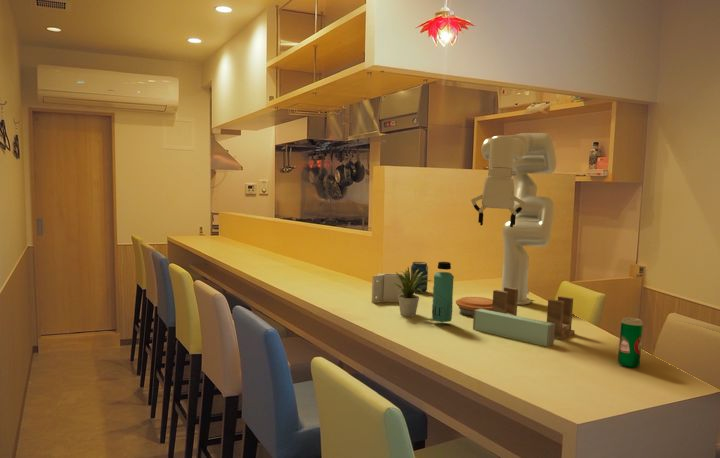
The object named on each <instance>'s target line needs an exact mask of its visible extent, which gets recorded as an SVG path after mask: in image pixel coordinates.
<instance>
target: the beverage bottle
mask: <svg viewBox="0 0 720 458" xmlns="http://www.w3.org/2000/svg"><path fill="white" fill-rule="evenodd" d="M451 265H452V263H451V262H450V261H438V263H437V269H439V270H451V269H452V266H451ZM432 289H433V290H432V305H431V318H432V320H433V321H435V322H441V323H449V322H452V318H453V307H454V306H453V305H454V304H453V295H454V275H453V274H452V272H448V271H437V272H436V273H435V274H434V275H433V286H432Z"/></svg>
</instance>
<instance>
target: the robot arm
mask: <svg viewBox="0 0 720 458" xmlns="http://www.w3.org/2000/svg"><path fill="white" fill-rule="evenodd" d="M554 145H555V144H554V141H553V138H552V137H551V134H549V133H547V132H522V133H517V134H511V135H495V136H492V137H489V138H486V139H485V140H484V141H483V142H482V145H481V149H480V151H481V156H482V157H483V158H484V159H485V160H486V161H488V173H487V177H485V179H484V183H483V190H482V194H481V195H478V196H476V197H474V198H471V203H472V205H473V209H475V210H476V212H478V220H477V221H478V224H480V226H483V224H484V211H485V209H487V208H488V209H505V210H509V211H510V218H509V220H508V221H506V222H504V224H503V225H502V240H503V241H502V242H503V256H502V257H503V259H502V262H503V263H502V276H501V290H500V291H504V288H505V287H510V288H516V289H518V301H517V306H518V305H519V306H520V305H521V306H522V305H523V306H524V305H529V304H531V299H530V298H529V297H527V296H528V294H530V290H529V289H528V280H529V269H530V268H529V267H530V265H529V264H530V257H529V256H530V255H529V254H528V252H527V250H526V249H525V247H527V246H528V247H539V248H540V247H541V248H543V247H546V246H548V244H549V243H550V239H551V235H552V229H553V227H552V226H553V222H554V221H553V220H554V215H555V203H554V201H553V199H552V198H550V197H548V196H541V195H540V196H537V193H538V186H537V184H536V182H535V181H534V179H533V178H532V177H531V176H530V175H529V174H534V175H535V174H536V175H537V174H540V175H549V174H552V173H554V172H555V170H556V167H557V156H556V151H555V146H554ZM480 200H481V205H482V206H481V207H479V206H478V204H477V202H478V201H480ZM524 246H525V247H524Z"/></svg>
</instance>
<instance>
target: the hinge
mask: <svg viewBox="0 0 720 458" xmlns="http://www.w3.org/2000/svg"><path fill="white" fill-rule="evenodd" d="M400 274H401V275H402V276H403V277H404V278H405V275H404V273H400ZM398 278H399V277H398V275H397V274H396V273H377V275H376V274H375V275H372V278H371V279H372V283H371V284H372V285H371V303H372V304H375V303H382V302H385V303H386V302H390V303H392V302H394V303H399V298H398V296H399V295H401V294H404V293H403V292H402V290H401V289H400V290H401V291H399V287H398V286H396V285H394V284H392V283H397V284H399V285H400V286H401V287H402V288H404V287H403V285H402V283H401V280H400V278H399V279H398ZM398 291H399V292H398Z"/></svg>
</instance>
